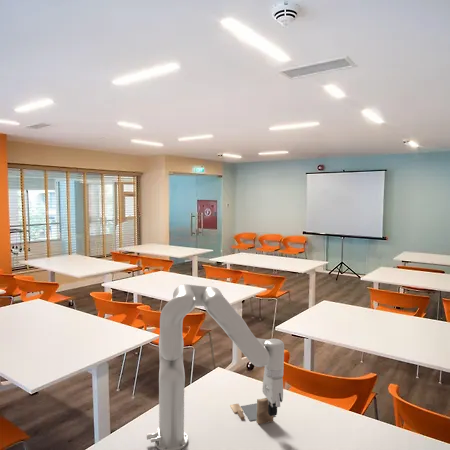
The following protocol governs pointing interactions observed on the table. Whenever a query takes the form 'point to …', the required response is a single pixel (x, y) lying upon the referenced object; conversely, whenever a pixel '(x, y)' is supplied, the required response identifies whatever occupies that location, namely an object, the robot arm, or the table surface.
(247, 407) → the mat
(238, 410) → the turner
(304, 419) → the table surface
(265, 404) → the brown wooden block
